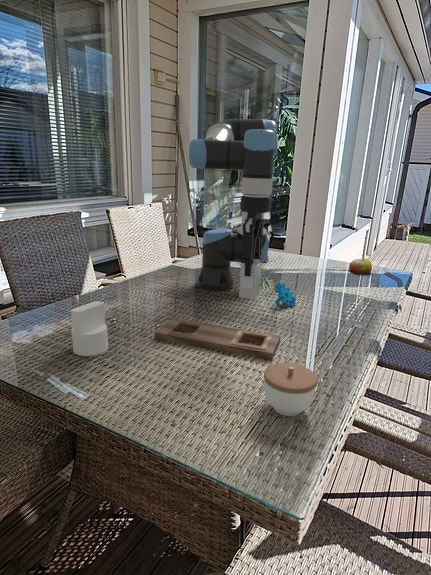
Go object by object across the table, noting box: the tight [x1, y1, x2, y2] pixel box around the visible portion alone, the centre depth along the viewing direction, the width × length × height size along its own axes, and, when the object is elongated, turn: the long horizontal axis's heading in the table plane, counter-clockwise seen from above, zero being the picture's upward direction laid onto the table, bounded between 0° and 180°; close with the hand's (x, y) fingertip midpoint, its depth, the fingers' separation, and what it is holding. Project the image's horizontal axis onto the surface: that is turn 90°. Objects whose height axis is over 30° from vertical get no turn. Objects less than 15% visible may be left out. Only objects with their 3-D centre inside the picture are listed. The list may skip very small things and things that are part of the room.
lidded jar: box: [263, 362, 318, 417], centre depth 83 cm, size 11×11×9 cm
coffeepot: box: [264, 230, 275, 263], centre depth 211 cm, size 15×9×18 cm, turn 125°
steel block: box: [238, 262, 263, 301], centre depth 107 cm, size 4×4×9 cm
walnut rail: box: [154, 317, 281, 361], centre depth 115 cm, size 12×34×2 cm, turn 71°
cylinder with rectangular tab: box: [70, 300, 109, 357], centre depth 106 cm, size 9×9×12 cm
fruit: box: [348, 258, 373, 275], centre depth 198 cm, size 11×10×8 cm
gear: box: [275, 282, 297, 308], centre depth 148 cm, size 11×6×10 cm
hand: (250, 284), depth 107 cm, fingers closed on steel block, 4 cm apart
